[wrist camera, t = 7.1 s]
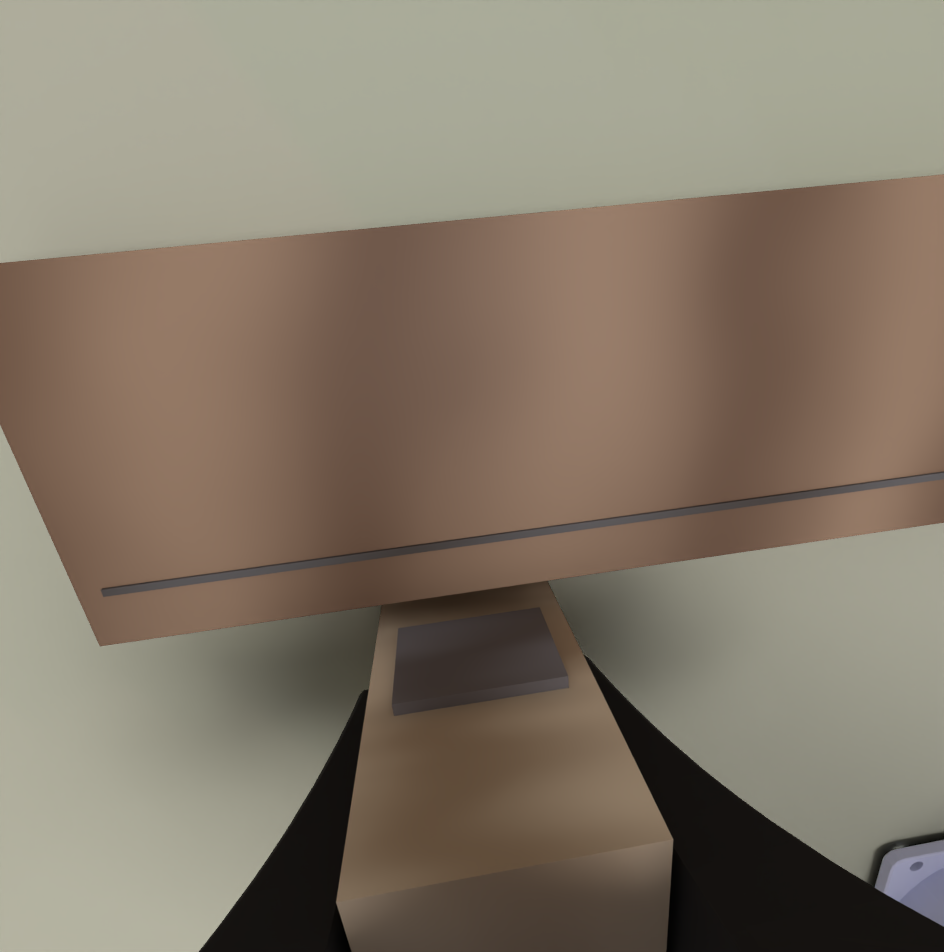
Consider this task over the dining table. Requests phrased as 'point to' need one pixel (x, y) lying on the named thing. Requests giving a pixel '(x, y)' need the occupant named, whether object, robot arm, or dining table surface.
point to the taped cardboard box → (497, 791)
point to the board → (476, 400)
